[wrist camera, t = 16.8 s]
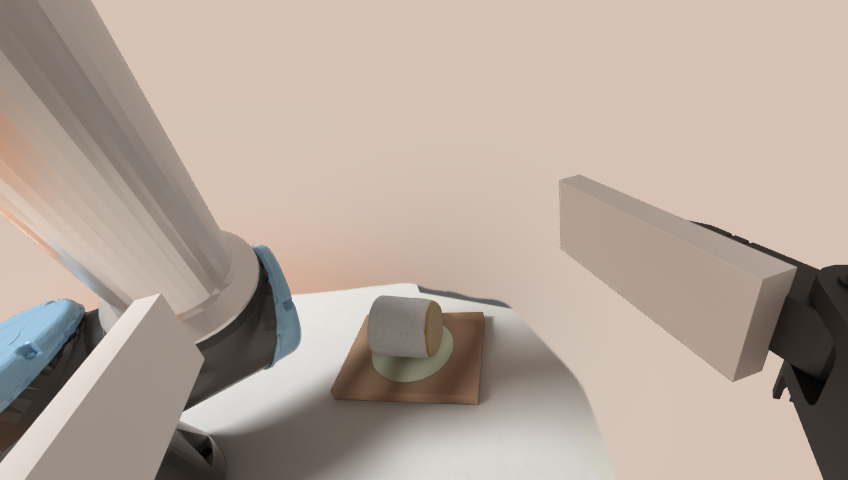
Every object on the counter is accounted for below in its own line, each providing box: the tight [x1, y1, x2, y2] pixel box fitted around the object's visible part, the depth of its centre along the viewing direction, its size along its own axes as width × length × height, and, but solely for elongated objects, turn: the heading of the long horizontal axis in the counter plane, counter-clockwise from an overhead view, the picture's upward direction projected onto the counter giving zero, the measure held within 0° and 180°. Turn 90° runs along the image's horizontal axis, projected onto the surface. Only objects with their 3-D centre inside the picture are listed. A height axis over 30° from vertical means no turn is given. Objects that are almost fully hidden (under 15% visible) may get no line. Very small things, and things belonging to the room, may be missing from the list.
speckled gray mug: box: [367, 296, 443, 358], centre depth 48 cm, size 11×8×8 cm
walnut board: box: [331, 312, 484, 405], centre depth 49 cm, size 18×14×2 cm
